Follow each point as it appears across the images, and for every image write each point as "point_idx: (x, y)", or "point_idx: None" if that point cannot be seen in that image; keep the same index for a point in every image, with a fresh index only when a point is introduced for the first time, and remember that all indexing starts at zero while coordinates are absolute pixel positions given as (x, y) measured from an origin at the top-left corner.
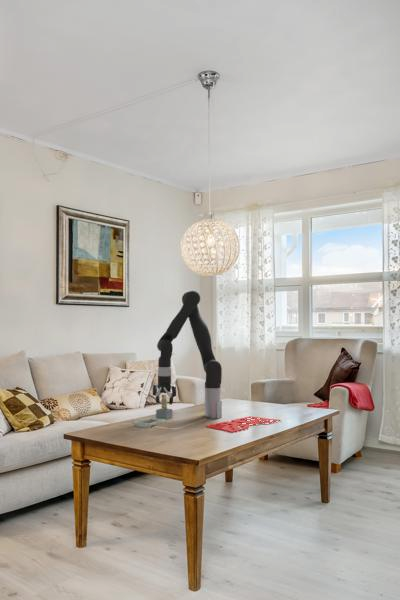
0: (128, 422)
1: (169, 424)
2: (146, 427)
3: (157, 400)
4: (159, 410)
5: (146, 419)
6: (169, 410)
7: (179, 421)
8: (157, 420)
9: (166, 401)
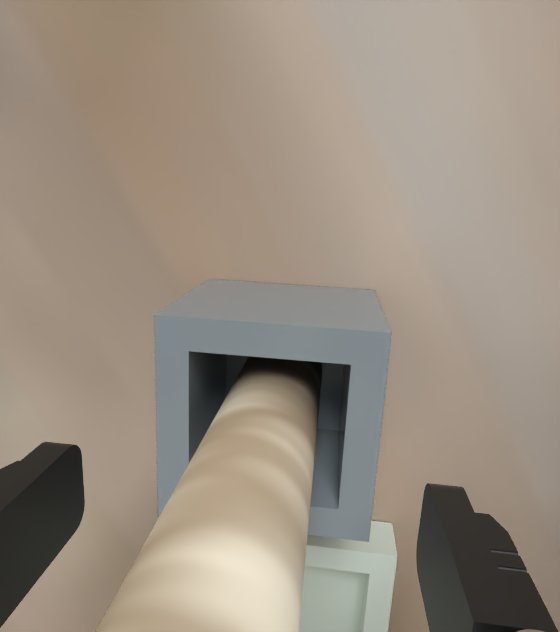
0: (16, 621)
1: None
2: None
3: (42, 568)
4: None
5: None
6: (379, 430)
7: (530, 365)
8: None
9: (304, 552)
